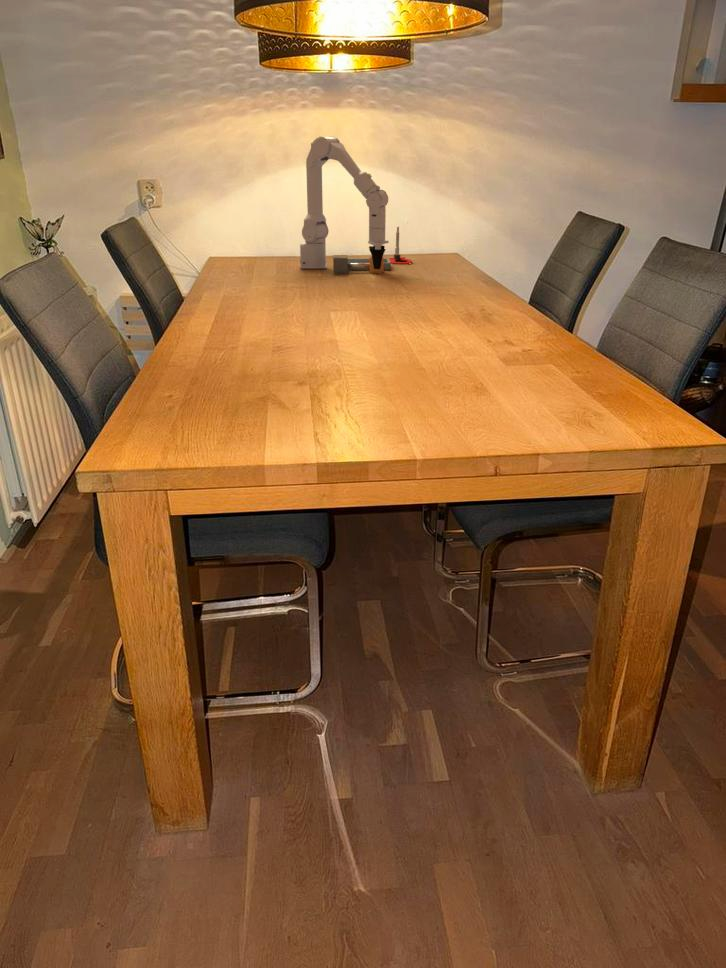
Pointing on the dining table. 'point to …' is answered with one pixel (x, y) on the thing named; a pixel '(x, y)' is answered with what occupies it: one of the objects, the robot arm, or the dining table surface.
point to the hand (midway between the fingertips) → (376, 268)
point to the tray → (386, 262)
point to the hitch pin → (368, 266)
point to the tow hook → (396, 255)
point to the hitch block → (340, 264)
